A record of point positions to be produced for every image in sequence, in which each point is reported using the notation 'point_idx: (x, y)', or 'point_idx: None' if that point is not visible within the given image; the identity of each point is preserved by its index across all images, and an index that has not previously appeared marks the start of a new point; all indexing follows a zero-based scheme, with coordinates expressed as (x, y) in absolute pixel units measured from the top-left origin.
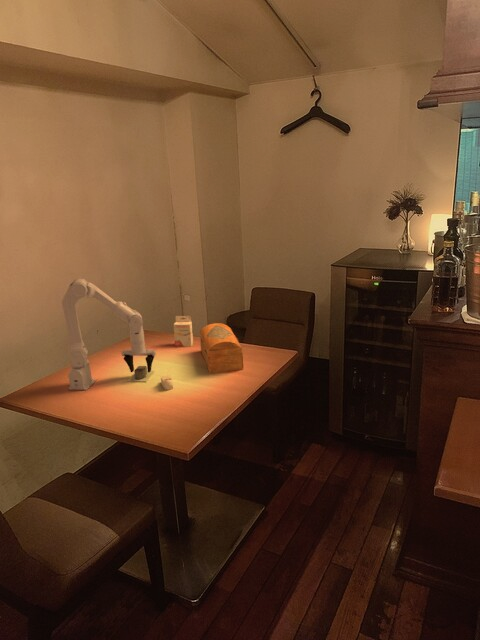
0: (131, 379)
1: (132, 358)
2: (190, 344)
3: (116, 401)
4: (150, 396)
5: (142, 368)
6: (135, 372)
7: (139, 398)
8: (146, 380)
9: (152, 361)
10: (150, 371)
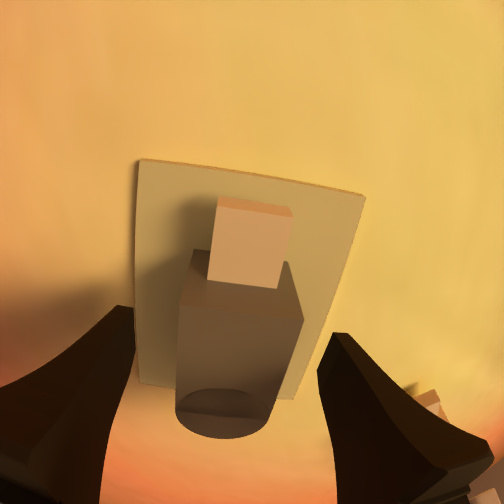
0: (159, 366)
1: (72, 428)
2: None
3: (183, 496)
4: (320, 482)
5: (258, 383)
6: (198, 427)
7: (274, 491)
8: (294, 391)
9: (414, 408)
10: (319, 205)
